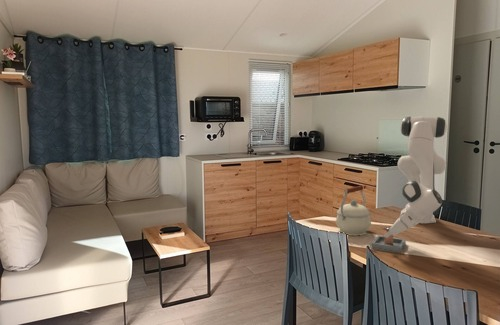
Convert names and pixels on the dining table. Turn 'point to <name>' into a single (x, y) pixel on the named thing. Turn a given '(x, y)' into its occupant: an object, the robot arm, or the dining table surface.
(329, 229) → the dining table surface
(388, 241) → the terracotta jar
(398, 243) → the tray
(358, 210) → the kettle
